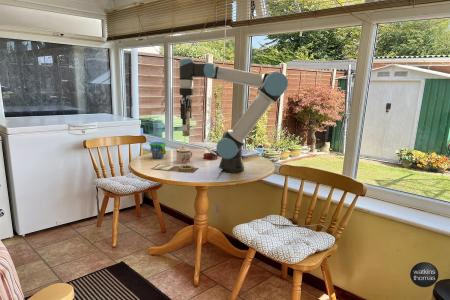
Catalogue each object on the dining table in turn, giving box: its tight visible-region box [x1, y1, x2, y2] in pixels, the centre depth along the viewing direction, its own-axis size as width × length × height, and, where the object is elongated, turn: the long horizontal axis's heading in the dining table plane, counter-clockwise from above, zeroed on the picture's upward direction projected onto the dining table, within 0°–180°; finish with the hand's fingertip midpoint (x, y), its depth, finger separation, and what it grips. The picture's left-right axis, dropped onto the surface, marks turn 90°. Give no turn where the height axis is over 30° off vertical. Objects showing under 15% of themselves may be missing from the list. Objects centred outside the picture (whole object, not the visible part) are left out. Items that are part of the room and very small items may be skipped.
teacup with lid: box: [175, 145, 193, 164], centre depth 197 cm, size 12×9×12 cm
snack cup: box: [149, 141, 167, 159], centre depth 210 cm, size 16×10×10 cm
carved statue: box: [179, 107, 194, 137], centre depth 171 cm, size 7×4×15 cm, turn 78°
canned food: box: [203, 146, 218, 161], centre depth 213 cm, size 11×10×10 cm
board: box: [150, 163, 200, 174], centre depth 178 cm, size 26×12×3 cm, turn 78°
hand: (186, 130), depth 172 cm, fingers closed on carved statue, 4 cm apart
